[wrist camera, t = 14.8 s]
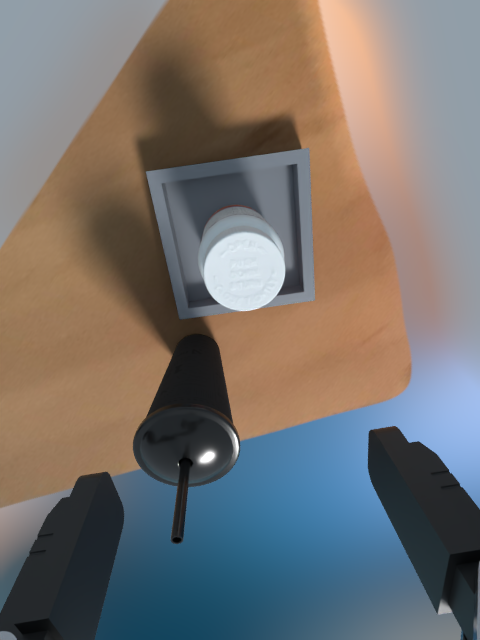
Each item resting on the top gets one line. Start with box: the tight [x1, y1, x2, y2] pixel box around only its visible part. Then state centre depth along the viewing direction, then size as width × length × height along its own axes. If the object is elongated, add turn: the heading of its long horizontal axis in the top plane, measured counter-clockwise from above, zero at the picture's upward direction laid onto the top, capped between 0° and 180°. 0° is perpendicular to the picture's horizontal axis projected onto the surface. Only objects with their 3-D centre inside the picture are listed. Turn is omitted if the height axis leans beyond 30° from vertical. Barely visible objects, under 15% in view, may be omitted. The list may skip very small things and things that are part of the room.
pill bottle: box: [198, 205, 285, 311], centre depth 26 cm, size 6×6×11 cm
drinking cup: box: [133, 334, 240, 544], centre depth 27 cm, size 8×8×20 cm
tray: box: [146, 148, 315, 320], centre depth 30 cm, size 13×13×2 cm
